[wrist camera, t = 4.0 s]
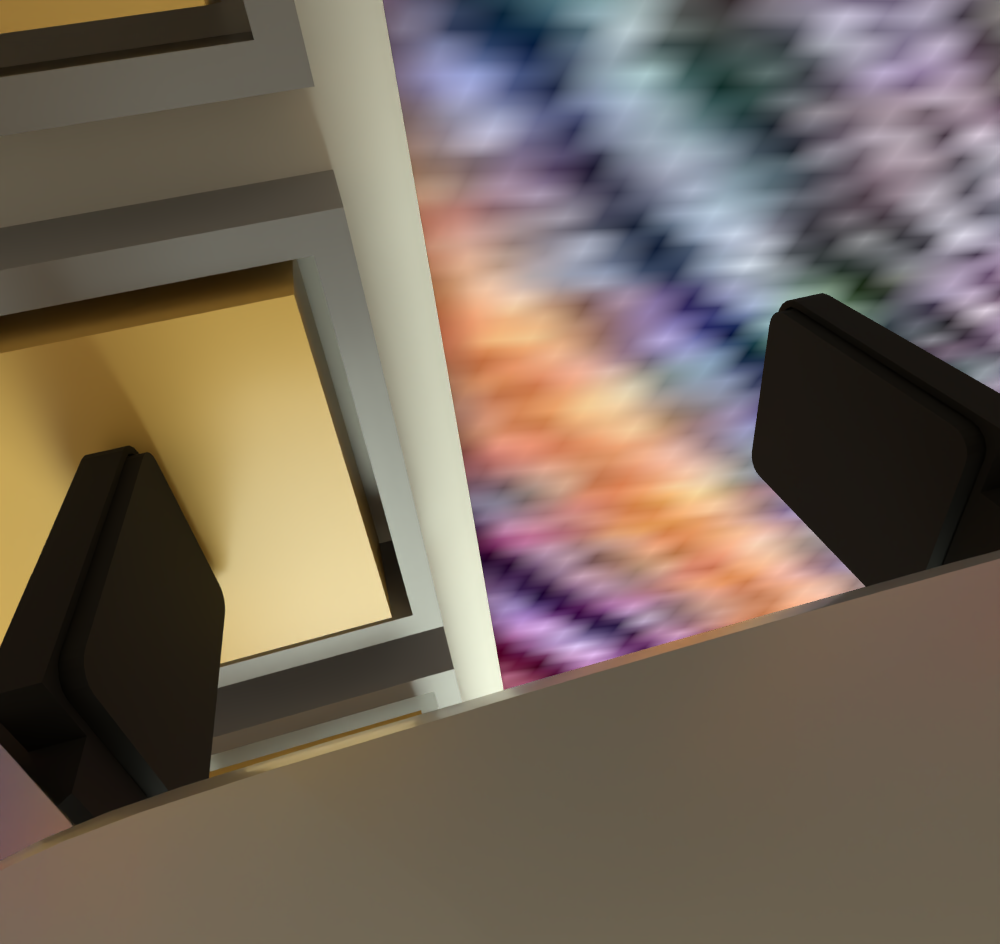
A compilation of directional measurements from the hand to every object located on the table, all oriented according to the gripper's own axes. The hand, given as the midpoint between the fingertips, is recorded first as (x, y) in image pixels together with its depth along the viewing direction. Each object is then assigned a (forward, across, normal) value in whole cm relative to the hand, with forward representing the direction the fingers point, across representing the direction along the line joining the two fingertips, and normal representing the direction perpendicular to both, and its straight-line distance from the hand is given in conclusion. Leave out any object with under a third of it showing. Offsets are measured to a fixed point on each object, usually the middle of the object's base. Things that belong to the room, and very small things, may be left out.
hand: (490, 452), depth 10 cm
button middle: (+2, +5, 0) cm, 6 cm away
